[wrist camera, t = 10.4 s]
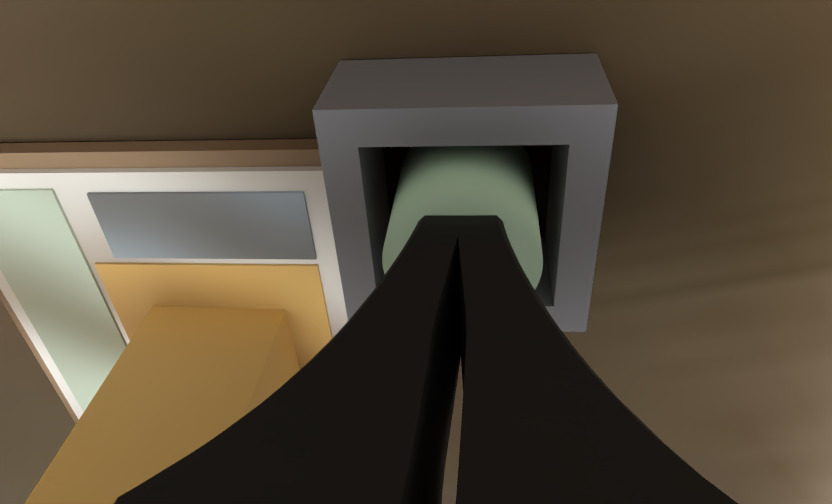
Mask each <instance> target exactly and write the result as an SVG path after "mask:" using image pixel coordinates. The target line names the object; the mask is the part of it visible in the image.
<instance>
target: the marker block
mask: <svg viewBox="0 0 832 504" xmlns="http://www.w3.org/2000/svg"><path fill="white" fill-rule="evenodd" d="M299 370H300V368H299V364H298V360H297V355H296V351H295V347H294V342H293V338H292V334H291V329H290V325H289V320H288V316H287V312H286V310H285V309H249V308H212V307H176V306H152V308H151V309H150V311H149V313H148V314H147V316H146V317H145V319H144V320H143V322H142V323H141V325H140V326H139V328H138V329H137V331H136V333H135V334H134V336H133V337H132V339H131V340H130V342H129V343H128V345H127V346H126V348H125V350H124V351H123V353H122V354H121V356H120V357H119V359H118V360H117V362H116V363H115V365H114V366H113V368H112V370H111V371H110V373H109V374H108V376H107V377H106V379H105V380H104V382H103V383H102V385H101V387H100V388H99V390H98V391H97V393H96V394H95V396H94V397H93V399H92V400H91V402H90V403H89V405H88V407H87V408H86V410H85V411H84V413H83V414H82V416H81V417H80V419H79V420H78V422H77V424H76V425H75V427H74V428H73V430H72V431H71V433H70V434H69V436H68V437H67V439H66V440H65V442H64V444H63V445H62V447H61V448H60V450H59V451H58V453H57V454H56V456H55V457H54V459H53V461H52V462H51V464H50V465H49V467H48V468H47V470H46V471H45V473H44V474H43V476H42V477H41V479H40V481H39V482H38V484H37V485H36V487H35V488H34V490H33V491H32V493H31V494H30V496H29V498H28V499H27V501H26V502H25V504H114V502H115V501H116V499H117V498H118V497H119V496H121V495H123V494H124V493H126V492H128V491H130V490H131V489H133V488H135V487H136V486H138V485H140V484H141V483H143V482H145V481H146V480H148V479H150V478H151V477H153V476H154V475H156V474H158V473H159V472H161V471H163V470H164V469H166V468H168V467H169V466H171V465H172V464H174V463H176V462H177V461H179V460H181V459H182V458H184V457H186V456H187V455H189V454H190V453H192V452H194V451H195V450H197V449H198V448H200V447H201V446H203V445H204V444H206V443H207V442H209V441H210V440H212V439H213V438H214V437H216V436H217V435H219V434H220V433H222V432H223V431H224V430H226V429H227V428H228V427H230V426H231V425H232V424H234V423H235V422H236V421H238V420H239V419H240V418H242V417H243V416H245V415H246V414H247V413H249V412H250V411H251V410H253V409H254V408H255V407H257V406H258V405H259V404H261V403H262V402H263V401H264V400H266V399H267V398H268V397H269V396H270V395H272V394H273V393H274V392H275V391H276V390H278V389H279V388H280V387H281V386H282V385H283V384H285V383H286V382H287V381H288V380H289V379H290V378H291V377H292V376H293V375H295V374H296V373H297V372H298V371H299Z"/></svg>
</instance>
